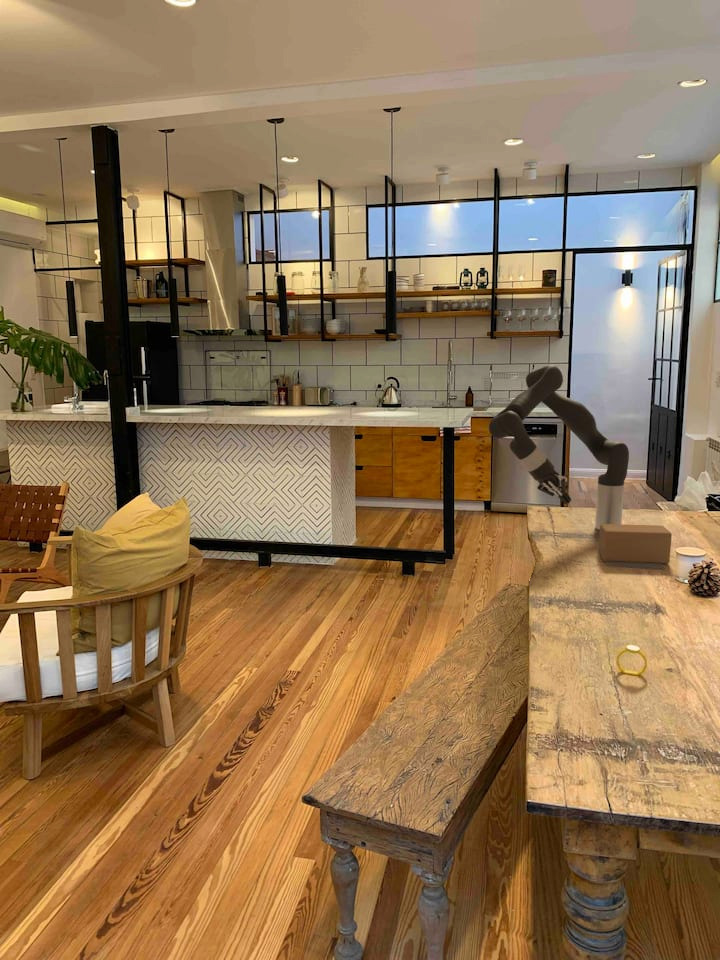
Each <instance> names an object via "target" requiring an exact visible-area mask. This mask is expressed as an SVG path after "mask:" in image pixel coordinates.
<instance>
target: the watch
mask: <svg viewBox="0 0 720 960" xmlns="http://www.w3.org/2000/svg"><path fill="white" fill-rule="evenodd" d="M626 652H628V653H630V654H639V655H640V656H641V657H642V658H643V661H644V665H643V667H642V668H641V669H640V670H638V671H634V670H626V669H625V668H624V667H622V666H621V663H620V661H619V659H620V657H621V656H622V654H624V653H626ZM616 666H617V668H618V670H619V672H621V673H622V674H626V675H632V676H636V677H638V676H641V675H642V674H644V672H645V671H646V669H647V667H648V659H647V656H646V655H645V653H644V652H643V651H642V650H641V649H640V647H639V646H637V645H633V644H629V645H628V644H627V645H626V646H625V648H622V649H621V650H620V651H619V652H618V653H617V656H616Z"/></svg>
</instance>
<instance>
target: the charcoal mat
mask: <svg viewBox="0 0 720 960" xmlns="http://www.w3.org/2000/svg"><path fill="white" fill-rule="evenodd" d="M605 563H606V566H607V567H616V568H617V567H618V568H633V569H646V568H648V569H647V570H660V569H663V570H662V571H665V570H666V568H665V566H664V563H644V562H616V561H605Z"/></svg>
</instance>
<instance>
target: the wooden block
mask: <svg viewBox="0 0 720 960" xmlns="http://www.w3.org/2000/svg"><path fill="white" fill-rule="evenodd" d="M598 538H599V539H598V554H599V555H600V556H601V558H602V560H603V561H605V562H606V561H616V562H644V563H662V564H670V563H671V562H670V561H671V560H670V558H671V550H672V549H671V548H672V533H671V532H670V531H669V530H668V529H667V528H666V526H664V525H653V524H649V525H648V524H622V523H621V524H601V525H600V530H599V537H598Z"/></svg>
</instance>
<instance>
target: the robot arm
mask: <svg viewBox="0 0 720 960" xmlns="http://www.w3.org/2000/svg"><path fill="white" fill-rule="evenodd" d="M525 377H526V378H525V382H526V383H525V384H526V386H527V389H525V390H524V391H522V392H521V393H520V394H517V396H515V397H514V398H513V400H512V401H510V403H508V405H507V406H506V407H505V408H504V409H503V410H501V411H499V413H498V414H496V415H495V416H494V417H492V418H491V420H490V422H489V423H488V424H489V425H488V431H489V434H490V436H492V437H493V438H496V439H503V438H505V437H508V436H510V435H512V436H513V439H512V440H511V441H510V442H509V449H510V450H511V452H512V453H513V454H514V456H515V457H517V459H518V460H519V462H520V463H521V464H522V467H523V468H524V469H525V470H526V471H527V472H528V474H530V476H531V477H532V478H533V480H534V481H535V482H536V481H537V482H538V486H537V488H536V489H538V490H539V491H541V492H542V493H545V494H547V495H549V496H551V497H554V496H555V497H558V499H560V501H561V502H562V503H563V504H564V505H567V504H570V503H571V501H572V498H571V496H570V495H569V494H568V492H567V490H568V489H569V476H568V475H566V474H564V475H561V474H560V473H559V472H557V471H556V470H555V465H554V464H553V463H552V461H551V460H550V459H549V457H547V456H546V454H545V453H544V452H543V451H542V450H541V449H540V447H538V446H537V445H536V444H535V442H534V441H533V440H532V439H531V437H530V435H529V434H528V432H527V429H526V428H525V425H524V420H526V418H527V417H528V416H529V415H530V414H531V413H532V412H533V410H534V409H535V408H537V406H539V405H540V404H541V403H543V405H545V406H546V407H547V408H548V409H550V411H552V412H553V413H554V414H555V415H556V416H557V417H558V418H559V420H561V421H562V423H563V424H564V425H565V426H566V427H567V428H568V429H569V430H570V431H571V432H572V434H574V435H575V436H576V437H577V438H578V439H579V441H581V442H582V443H583V444H584V445H585V447H586V448H587V449H588V450H589V452H590V453H591V454H592V456H593V457H594V458H595V460H596V461H597V462H598V463H600V464H601V465H604V466H607V468H606V472H605V473H603V474H600V475H599V476H598V478H597V489H596V490H597V491H596V492H597V493H596V494H597V496H596V509H595V510H596V511H595V523H594V524H595V525H594V527H595V529H596V530H599V531H600V525H601V524H622V521H623V520H622V519H623V507H624V506H623V505H624V490H625V489H624V487H625V480H626V478H627V475H628V469H629V461H630V460H629V459H630V456H629V455H630V451H629V447H628V446H627V444H625V443H623V442H621V441H616V440H615V441H614V440H610V439H608V438H607V437H605V436H604V435H603V434H602V433H601V432H600V431H599V429H598V428H597V422H596V419H595V417H594V415H593V414H592V412H591V411H590V410H589V409H588V408H587V407H586V406H585V405H584V404H583V403H582V402H580V401H578V400H575V399H572V398H570V397H567V396H564V395H561V394H559V392H556V391H558V390H559V389H560V388H561V387H562V385H563V382H564V378H563V377H564V376H563V372H562V371H561V369H560V368H559V367H558V366H556V365H553V364H549V365H545V366H542V367H540V368H537V369H535V370H533V371H531V372H530V373H528V374H527V375H526V376H525Z"/></svg>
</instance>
